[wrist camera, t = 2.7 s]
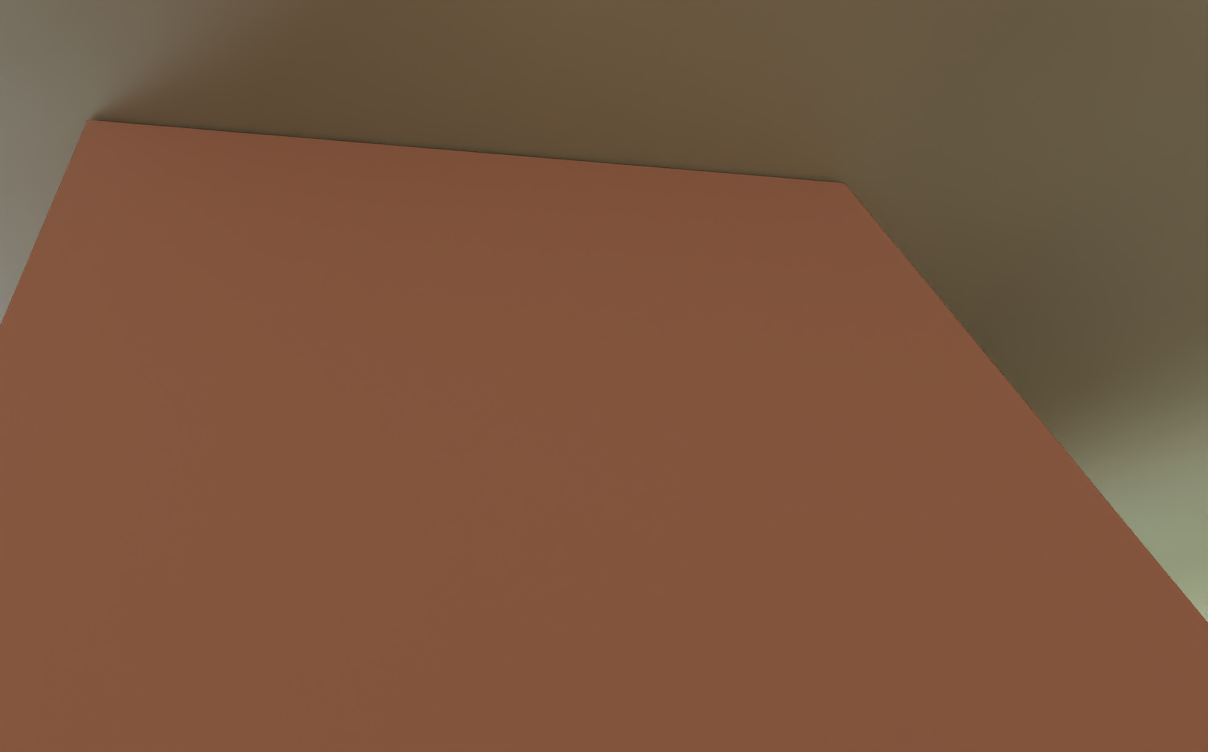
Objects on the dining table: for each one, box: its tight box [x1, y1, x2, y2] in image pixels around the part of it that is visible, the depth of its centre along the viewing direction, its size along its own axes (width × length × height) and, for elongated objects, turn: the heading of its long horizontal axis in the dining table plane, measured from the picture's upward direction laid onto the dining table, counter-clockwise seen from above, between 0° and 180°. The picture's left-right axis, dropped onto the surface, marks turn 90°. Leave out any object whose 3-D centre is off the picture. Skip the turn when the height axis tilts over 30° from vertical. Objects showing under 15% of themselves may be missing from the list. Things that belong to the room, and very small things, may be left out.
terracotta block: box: [0, 120, 1208, 752], centre depth 7 cm, size 5×5×5 cm
